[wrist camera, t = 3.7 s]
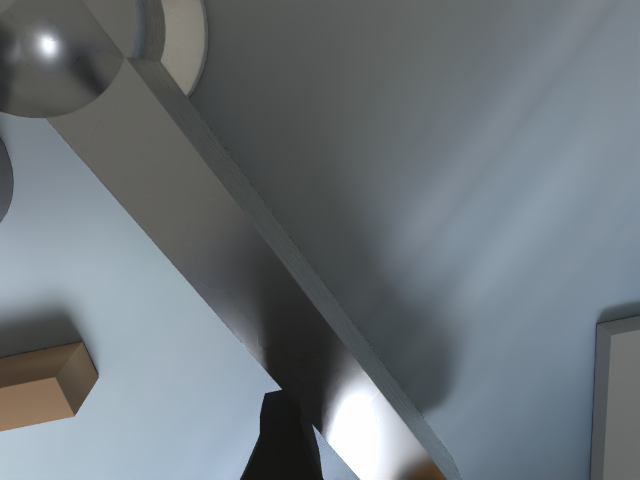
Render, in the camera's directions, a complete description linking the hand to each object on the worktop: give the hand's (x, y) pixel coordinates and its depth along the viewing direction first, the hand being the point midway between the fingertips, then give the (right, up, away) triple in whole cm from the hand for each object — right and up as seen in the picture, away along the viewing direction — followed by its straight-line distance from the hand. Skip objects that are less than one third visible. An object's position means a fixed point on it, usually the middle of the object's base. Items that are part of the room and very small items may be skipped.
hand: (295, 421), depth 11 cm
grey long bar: (-1, +4, 0) cm, 4 cm away
